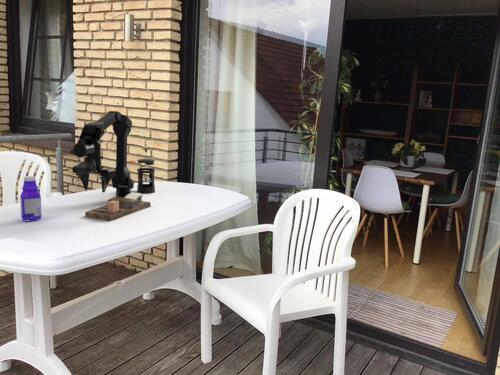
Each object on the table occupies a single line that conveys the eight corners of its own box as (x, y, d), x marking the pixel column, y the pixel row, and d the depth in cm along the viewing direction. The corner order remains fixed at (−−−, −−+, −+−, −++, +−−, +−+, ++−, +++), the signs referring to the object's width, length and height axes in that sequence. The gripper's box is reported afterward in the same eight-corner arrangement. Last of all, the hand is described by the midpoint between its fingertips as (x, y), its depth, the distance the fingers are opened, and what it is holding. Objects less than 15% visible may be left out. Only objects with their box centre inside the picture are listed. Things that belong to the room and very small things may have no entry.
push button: (110, 203, 201) (110, 198, 201) (116, 201, 205) (116, 196, 204) (131, 207, 197) (131, 201, 197) (136, 205, 201) (136, 199, 200)
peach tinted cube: (107, 211, 189) (107, 202, 188) (113, 209, 192) (113, 200, 191) (113, 212, 188) (113, 203, 187) (119, 210, 191) (118, 201, 190)
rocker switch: (124, 200, 206) (123, 197, 205) (132, 194, 211) (131, 192, 210) (135, 201, 204) (134, 199, 203) (142, 196, 209) (142, 193, 208)
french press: (148, 194, 232) (148, 150, 227) (132, 192, 235) (132, 148, 230) (160, 190, 243) (160, 147, 238) (145, 188, 246) (145, 146, 241)
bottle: (38, 216, 186) (36, 175, 182) (43, 219, 182) (41, 177, 178) (19, 219, 180) (16, 176, 177) (24, 223, 177) (22, 179, 173)
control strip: (85, 216, 189) (84, 204, 187) (127, 202, 214) (127, 192, 213) (110, 221, 184) (110, 208, 183) (150, 206, 209) (150, 195, 208)
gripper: (61, 154, 185) (63, 191, 188) (98, 158, 178) (99, 197, 181) (81, 151, 195) (82, 187, 198) (116, 155, 188) (117, 192, 191)
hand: (94, 190), depth 192 cm, fingers open, 9 cm apart
